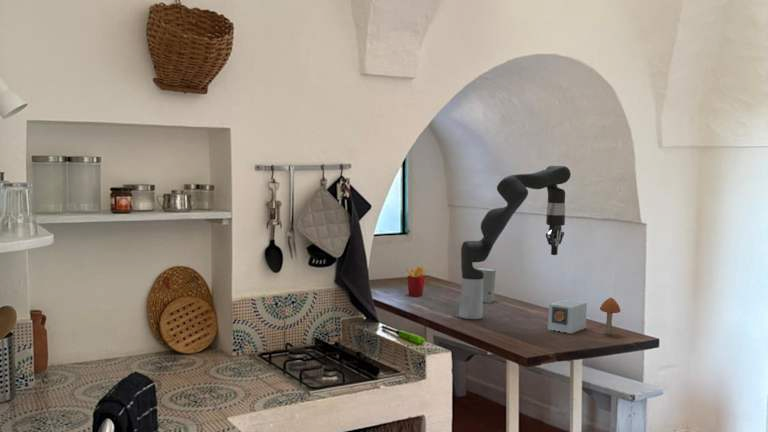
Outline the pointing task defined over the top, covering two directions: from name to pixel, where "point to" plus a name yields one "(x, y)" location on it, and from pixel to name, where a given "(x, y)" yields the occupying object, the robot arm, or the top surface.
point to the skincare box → (488, 284)
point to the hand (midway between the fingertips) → (554, 254)
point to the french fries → (416, 282)
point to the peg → (560, 315)
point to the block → (568, 316)
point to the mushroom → (609, 313)
